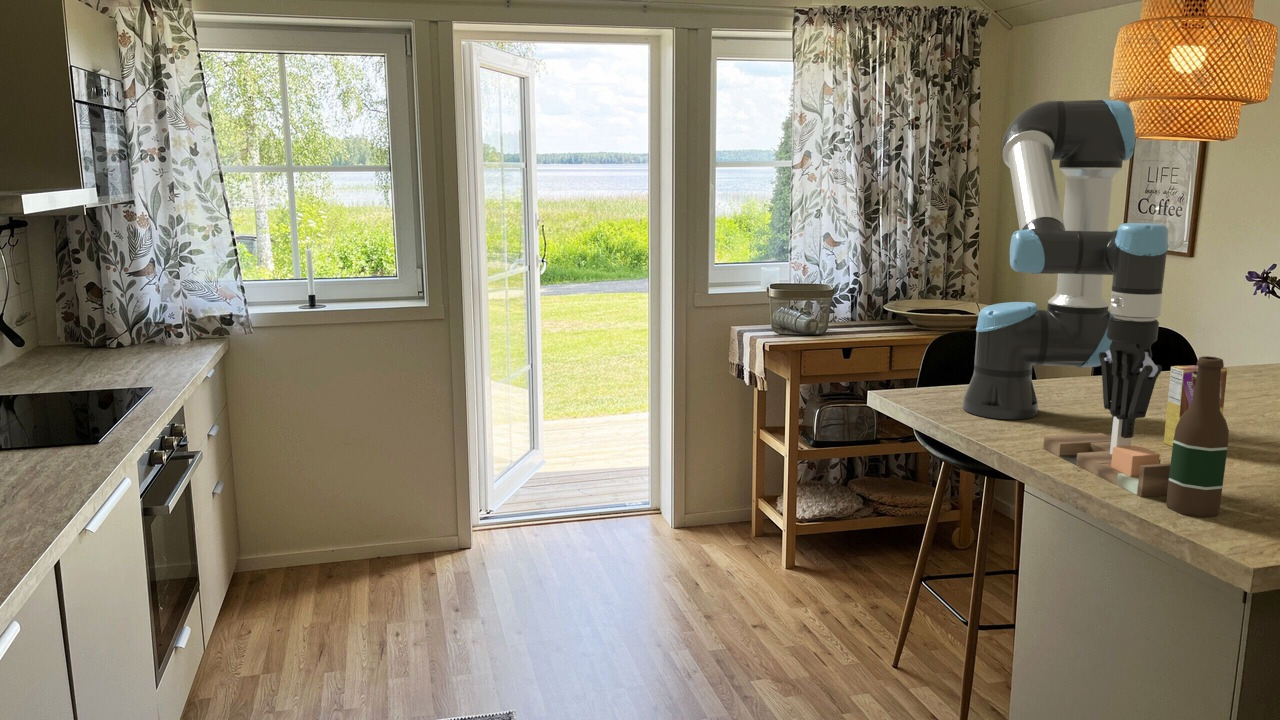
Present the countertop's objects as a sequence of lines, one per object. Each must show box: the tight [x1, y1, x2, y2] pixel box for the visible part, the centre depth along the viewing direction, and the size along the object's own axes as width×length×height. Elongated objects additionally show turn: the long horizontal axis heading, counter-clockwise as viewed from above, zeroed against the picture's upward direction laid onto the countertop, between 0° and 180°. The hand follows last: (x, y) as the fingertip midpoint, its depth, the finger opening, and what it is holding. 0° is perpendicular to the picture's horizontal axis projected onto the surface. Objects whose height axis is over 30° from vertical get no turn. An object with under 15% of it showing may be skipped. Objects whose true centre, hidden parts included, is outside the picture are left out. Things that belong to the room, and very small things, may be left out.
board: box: [1043, 432, 1171, 498], centre depth 170 cm, size 27×12×5 cm, turn 11°
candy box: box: [1163, 364, 1228, 448], centre depth 184 cm, size 9×4×15 cm, turn 96°
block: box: [1111, 445, 1161, 476], centre depth 163 cm, size 5×5×4 cm
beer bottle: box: [1166, 356, 1230, 518], centre depth 149 cm, size 8×8×24 cm
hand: (1119, 454), depth 166 cm, fingers closed
